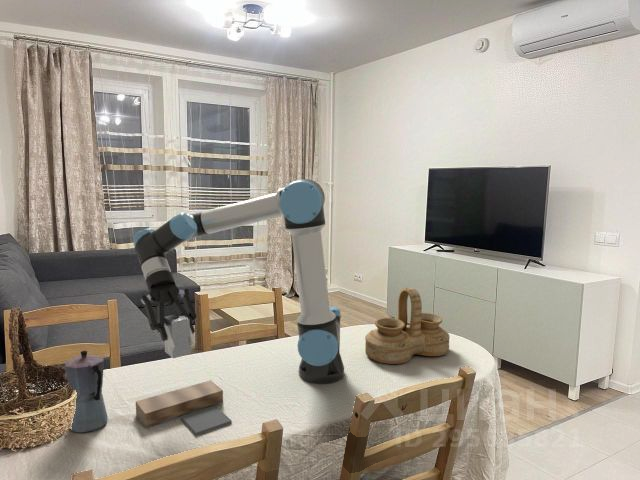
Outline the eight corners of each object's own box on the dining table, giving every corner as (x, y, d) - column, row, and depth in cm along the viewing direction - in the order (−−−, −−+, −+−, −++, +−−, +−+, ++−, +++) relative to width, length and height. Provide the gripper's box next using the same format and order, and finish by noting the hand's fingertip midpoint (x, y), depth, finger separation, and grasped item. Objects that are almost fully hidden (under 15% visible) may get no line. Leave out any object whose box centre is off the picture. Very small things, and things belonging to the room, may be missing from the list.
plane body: (211, 392, 141) (210, 380, 140) (223, 403, 135) (222, 390, 134) (136, 415, 127) (135, 401, 127) (145, 428, 121) (145, 413, 121)
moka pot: (92, 408, 130) (89, 340, 127) (124, 426, 122) (120, 353, 119) (57, 422, 123) (52, 350, 120) (88, 443, 114) (83, 366, 111)
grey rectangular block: (165, 351, 129) (163, 316, 128) (182, 347, 132) (181, 313, 131) (173, 358, 125) (171, 322, 123) (190, 354, 128) (189, 318, 126)
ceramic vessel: (383, 371, 159) (386, 300, 155) (355, 351, 175) (358, 287, 172) (459, 355, 174) (464, 290, 170) (427, 339, 190) (431, 279, 187)
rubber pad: (215, 407, 132) (215, 405, 132) (231, 423, 124) (231, 420, 124) (180, 418, 126) (180, 416, 126) (196, 435, 118) (196, 432, 118)
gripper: (185, 279, 144) (210, 346, 133) (124, 288, 133) (145, 361, 122) (191, 265, 139) (217, 333, 128) (128, 273, 128) (151, 348, 117)
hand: (182, 347), depth 125 cm, fingers closed on grey rectangular block, 5 cm apart
